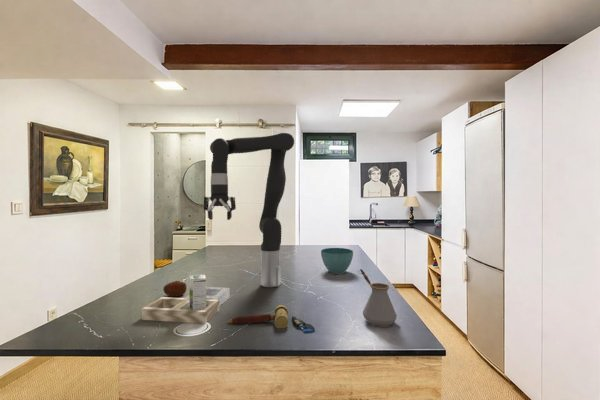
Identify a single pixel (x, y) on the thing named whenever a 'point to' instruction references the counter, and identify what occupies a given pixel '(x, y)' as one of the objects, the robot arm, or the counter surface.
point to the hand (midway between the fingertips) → (219, 219)
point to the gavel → (265, 318)
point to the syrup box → (197, 292)
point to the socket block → (217, 294)
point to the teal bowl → (337, 259)
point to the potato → (175, 288)
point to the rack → (178, 310)
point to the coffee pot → (379, 305)
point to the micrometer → (302, 325)
